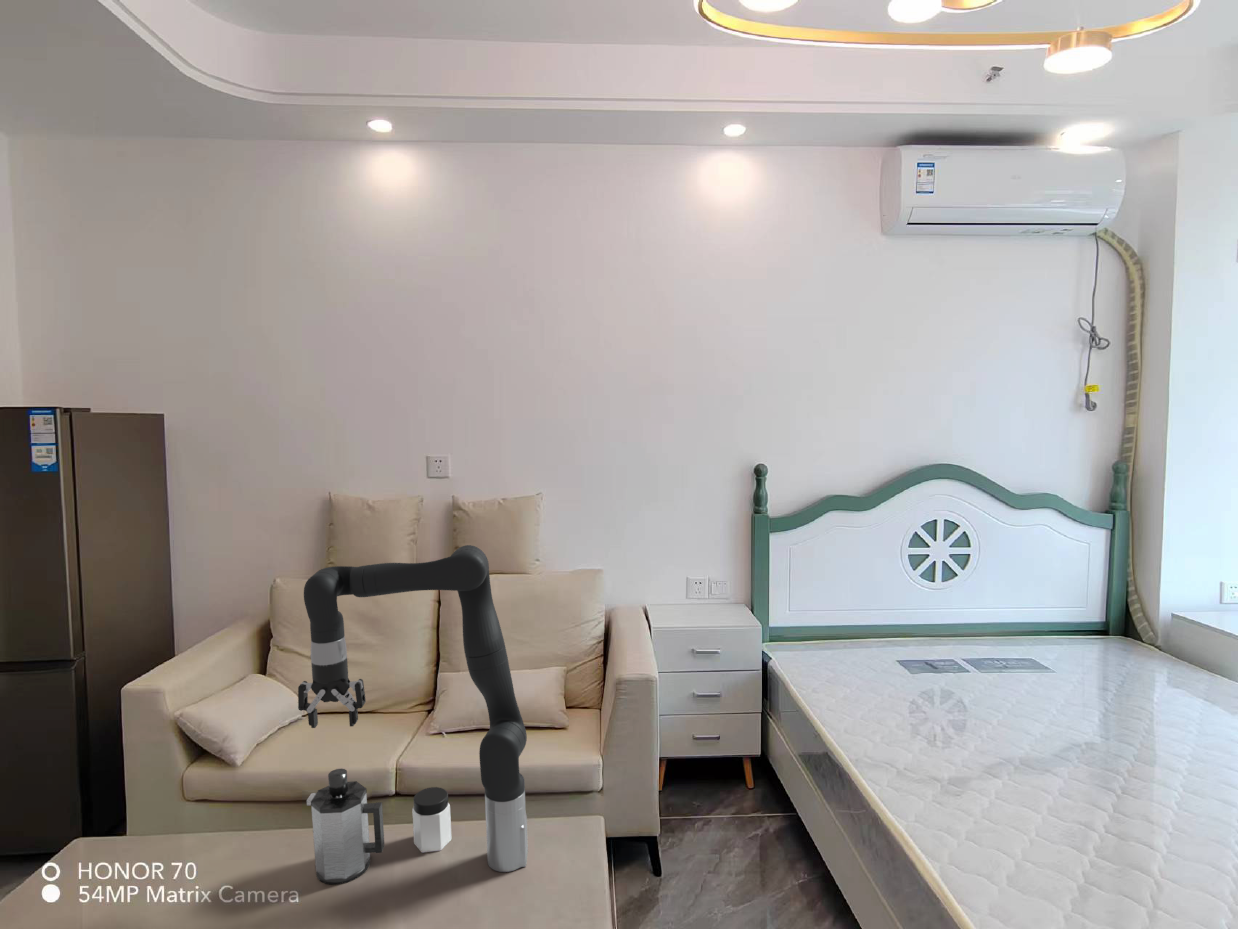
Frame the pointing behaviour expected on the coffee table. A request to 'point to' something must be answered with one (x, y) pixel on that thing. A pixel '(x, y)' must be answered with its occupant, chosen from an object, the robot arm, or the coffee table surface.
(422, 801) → the jar
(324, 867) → the press pot
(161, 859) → the coffee table surface
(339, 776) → the plunger
